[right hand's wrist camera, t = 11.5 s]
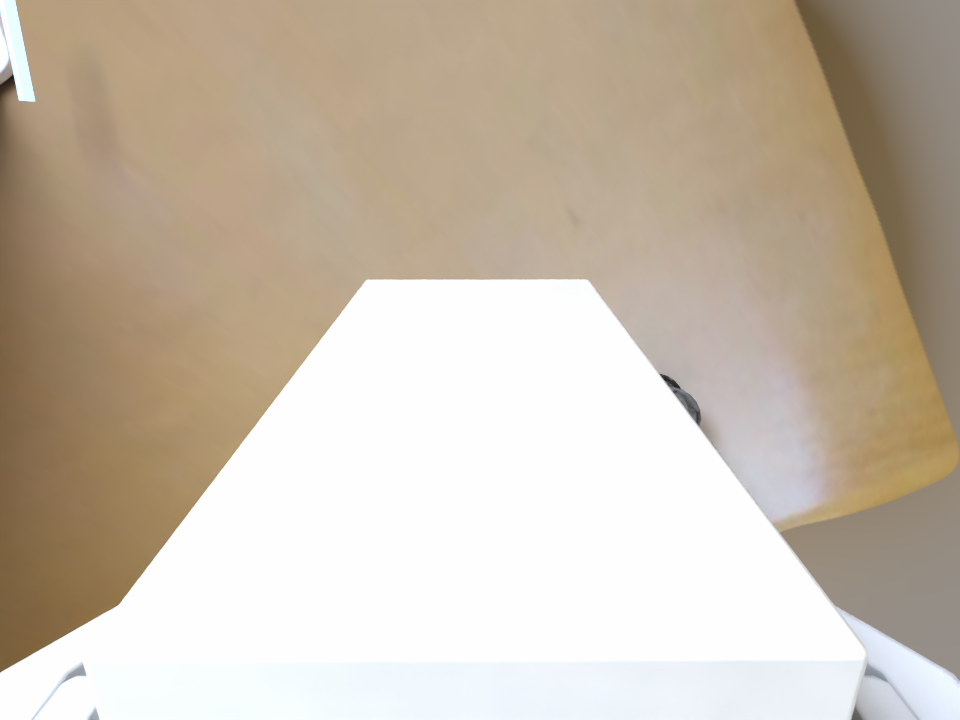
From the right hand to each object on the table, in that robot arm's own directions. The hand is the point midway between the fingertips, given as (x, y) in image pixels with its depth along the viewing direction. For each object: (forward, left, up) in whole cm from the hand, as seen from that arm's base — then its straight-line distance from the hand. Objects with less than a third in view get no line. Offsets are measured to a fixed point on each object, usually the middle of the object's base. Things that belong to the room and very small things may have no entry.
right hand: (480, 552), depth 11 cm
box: (+10, 0, -7) cm, 12 cm away
